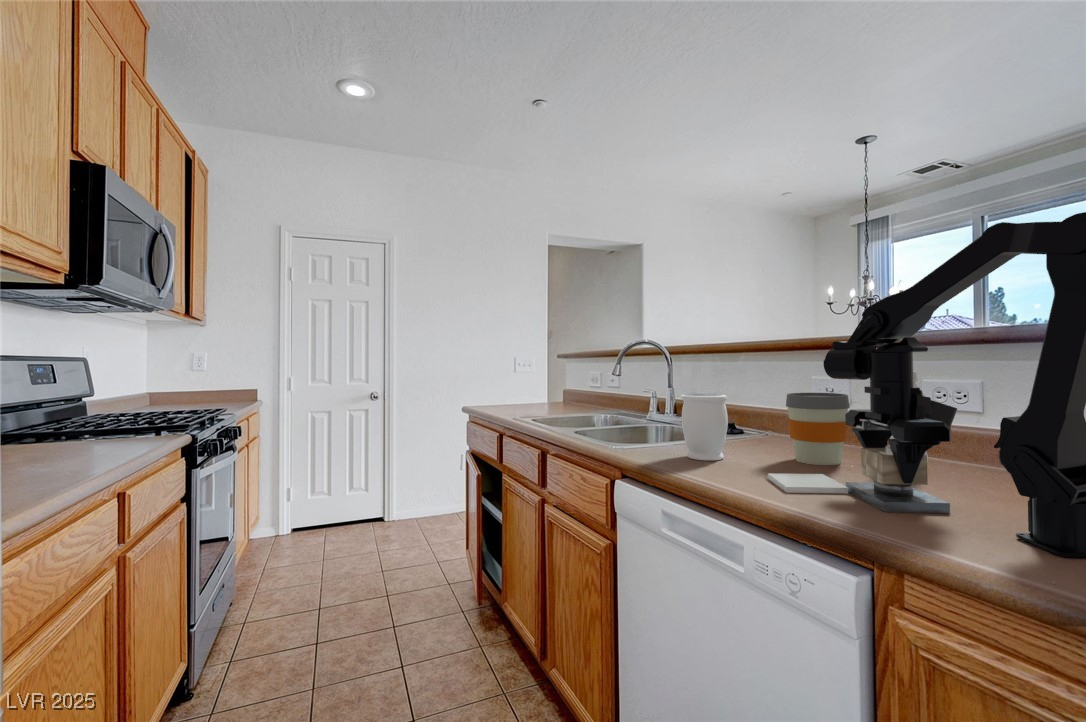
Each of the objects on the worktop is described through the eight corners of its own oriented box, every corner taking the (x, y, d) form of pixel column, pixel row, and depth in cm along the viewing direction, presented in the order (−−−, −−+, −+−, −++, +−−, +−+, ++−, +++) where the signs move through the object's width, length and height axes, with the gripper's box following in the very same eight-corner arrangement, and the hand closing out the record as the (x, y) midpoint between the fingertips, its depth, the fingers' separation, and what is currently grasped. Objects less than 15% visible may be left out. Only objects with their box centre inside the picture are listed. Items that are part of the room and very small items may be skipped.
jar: (673, 455, 119) (672, 394, 118) (709, 452, 122) (708, 392, 122) (700, 463, 108) (698, 397, 108) (738, 460, 111) (737, 395, 111)
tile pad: (848, 493, 83) (848, 487, 83) (786, 492, 84) (786, 486, 84) (822, 479, 93) (822, 473, 93) (767, 478, 94) (767, 473, 94)
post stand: (950, 513, 72) (948, 454, 72) (884, 511, 73) (883, 453, 73) (901, 491, 84) (900, 440, 84) (845, 490, 85) (844, 440, 85)
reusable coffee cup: (774, 458, 113) (773, 394, 113) (815, 453, 117) (814, 391, 117) (820, 469, 101) (819, 397, 101) (865, 464, 105) (863, 395, 105)
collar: (927, 484, 75) (927, 455, 75) (882, 484, 75) (882, 455, 75) (902, 474, 81) (902, 448, 81) (861, 474, 82) (860, 447, 82)
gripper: (991, 383, 68) (994, 494, 68) (909, 377, 86) (911, 465, 86) (905, 384, 69) (907, 492, 69) (842, 378, 88) (844, 464, 88)
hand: (893, 477), depth 78 cm, fingers open, 7 cm apart
